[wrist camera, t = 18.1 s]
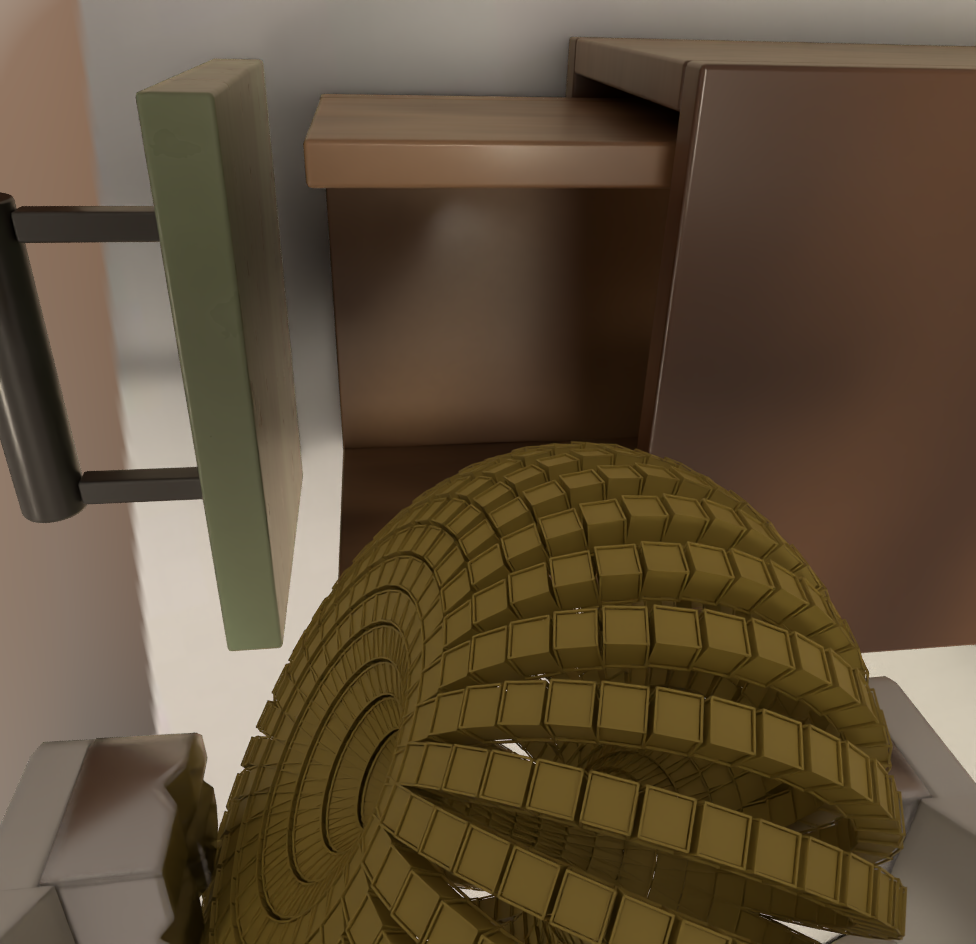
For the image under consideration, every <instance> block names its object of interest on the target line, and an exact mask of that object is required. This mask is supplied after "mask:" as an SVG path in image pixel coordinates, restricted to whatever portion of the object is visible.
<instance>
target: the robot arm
mask: <svg viewBox="0 0 976 944" xmlns="http://www.w3.org/2000/svg"><path fill="white" fill-rule="evenodd" d="M865 680H866V678H865ZM868 685H869V687H870V689H871V688H874V689H875V693H876V696H877V700H878V703H879V707H880V709H883V713H884V716H885V720H886V724H887V727H888V731H889V734H890V738H891V742H892V745H893V748H892V754H891V759H890V760H891V764H892V768H891V770H890V771H889V773H888V775H894V779H895V783H896V788H897V791H901V795H902V804H903V814H904V823H905V832H906V836H905V839H904V841H903V846H904V849H903V850H901V851H900V852H899V853H897V854H896V855H895V856H893V860H891V861H888V862H886V863H883V864H881V865H878V866H880V867H882V868H883V869H885V870H886V871H887V872H889V873H890V874H891V875H893V876H894V877H896V878H900V880H901V883H902V885H903V886H904V887H907V903H906V925H905V936H904V937H903V940H894V941H895V942H896V943H897V944H976V783H975V782H974V780H973V779H972V778H971V777H970V775H969V774H968V773H967V771H966V770H965V769H964V768H963V766H962V765H961V764H960V763H959V761H958V760H957V759H956V758H955V756H954V755H953V754H952V752H951V751H950V750H949V749H948V747H947V746H946V745H945V744H944V742H943V741H942V740H941V738H940V737H939V736H938V735H937V733H936V732H935V731H934V730H933V728H932V727H931V726H930V725H929V723H928V722H927V721H926V719H925V718H924V717H923V716H922V714H921V713H920V712H919V711H918V709H917V708H916V707H915V705H914V704H913V703H912V702H911V700H910V699H909V698H908V697H907V695H906V694H905V693H904V692H903V690H902V689H901V688H900V686H899V685H898V684H897V683H896V682H894V681H893V680H891V679H889V678H888V677H886V676H883V677H871V678H869V684H868ZM865 686H866V685H865ZM871 692H872V693H873V691H871ZM868 693H869V692H868ZM873 697H874V694H873ZM874 700H875V698H874ZM875 704H876V703H875ZM885 730H886V729H885ZM886 734H887V732H886ZM887 738H888V736H887ZM888 743H889V740H888ZM889 745H890V743H889ZM889 749H890V748H888V753H889ZM206 763H207V754H206V750H205V746H204V742H203V737H202V735H200V734H198V733H183V734H164V735H146V736H129V737H110V738H96V739H90V740H73V741H54V742H43V743H42V744H41V745H40V746H39V747H38V748H37V750H36V751H35V752H34V753H33V754H32V755H31V756H30V758H29V761H28V763H27V765H26V768H25V770H24V772H23V775H22V777H21V779H20V782H19V783H18V786H17V788H16V791H15V793H14V795H13V797H12V799H11V802H10V804H9V806H8V808H7V811H6V813H5V815H4V818H3V820H2V822H1V824H0V944H201V940H202V935H204V926H205V923H204V917H203V912H202V908H201V903H200V899H199V897H200V896H201V895H202V894H203V893H204V892H205V890H206V889H207V888H208V886H209V884H210V882H211V880H212V878H213V876H212V873H213V871H214V869H215V866H214V863H215V855H216V850H217V836H218V819H217V804H216V799H215V794H214V788H213V787H212V786H210V785H209V784H208V783H206V782H205V781H204V780H203V778H204V773H205V768H206ZM887 769H888V767H887V768H886V770H887ZM885 779H886V778H885ZM889 779H891V782H892V778H889ZM899 809H900V800H899ZM900 818H901V809H900ZM833 821H834V820H833ZM833 821H831V822H833ZM829 823H830V822H829ZM837 824H838V823H837ZM816 825H817V824H816ZM833 825H835V824H833ZM833 825H831V826H833ZM829 827H830V826H829ZM901 827H902V818H901ZM811 832H813V831H811ZM807 833H810V832H807ZM902 833H903V828H902ZM804 834H806V833H804ZM897 849H898V848H896V849H895V850H894V851H892V853H893V852H895V851H896V850H897ZM883 860H885V859H882V860H880V861H883ZM880 861H877V862H875V863H878V862H880ZM875 870H878V869H876V868H875ZM881 873H883V874H885V873H884V872H882V871H881ZM889 880H891V879H889ZM894 881H896V882H897V880H894ZM899 889H900V888H899ZM903 893H904V892H903ZM794 922H797V921H794ZM202 941H203V940H202Z"/></svg>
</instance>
